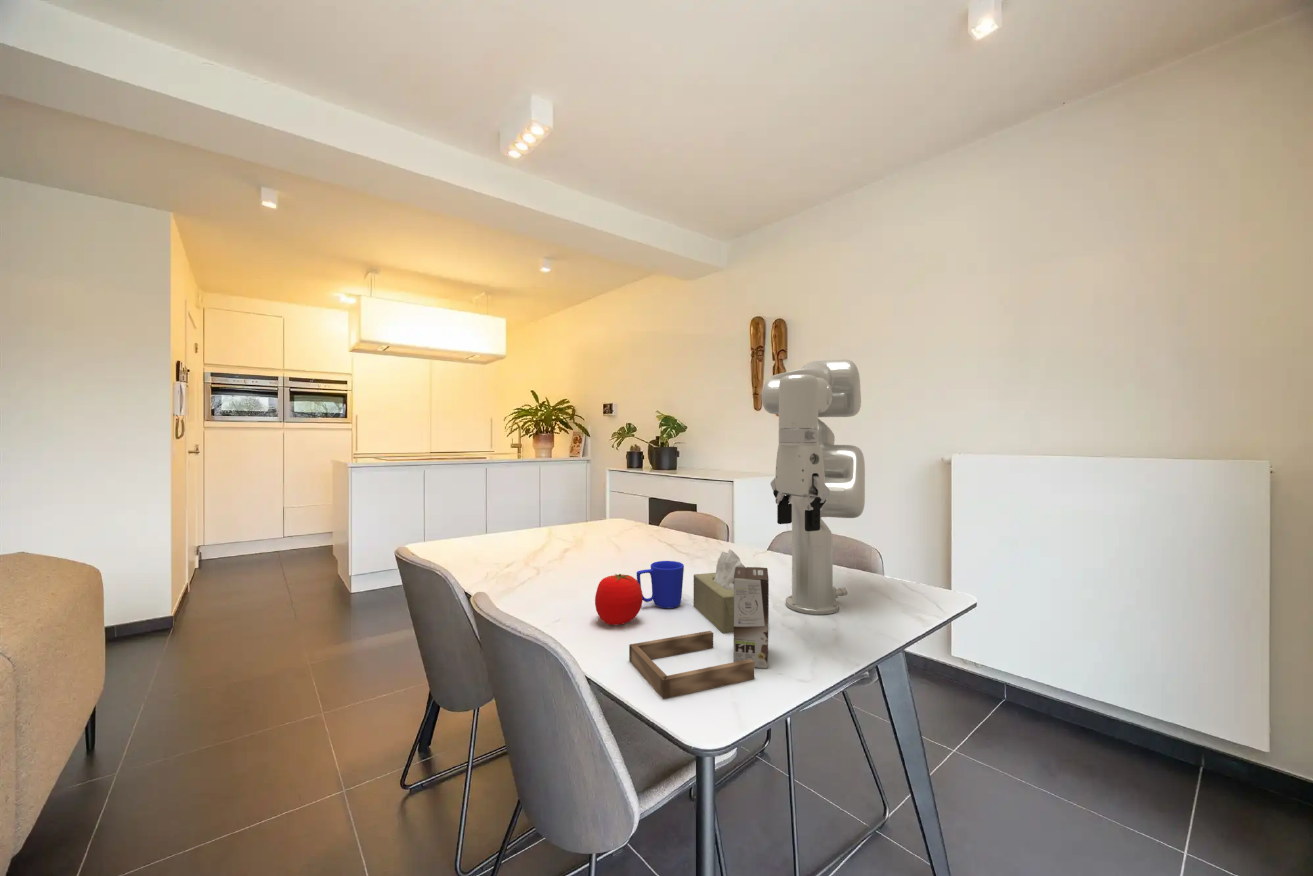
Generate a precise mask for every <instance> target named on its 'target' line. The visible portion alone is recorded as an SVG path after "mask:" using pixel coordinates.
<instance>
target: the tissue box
mask: <svg viewBox="0 0 1313 876" xmlns="http://www.w3.org/2000/svg"><path fill="white" fill-rule="evenodd" d="M715 567H716V569H715V572H708V573H707V572H706V573H695V574H693V608H695V610H697V612H699V613H700V614H701V615H702V616H703V617H704V618H705V619H706V620H708V621H709V623H711V624H712V625H713V626H714V627H715V628H716V629H717V630H718V631H720V633H722V634H732V633H733V634H734V574H735V568H736V567H746V566H745V565H744V564H743V563H742V561H741V558H739V556H738V554H736V553H735V551H733V550H732V549H731V548H729V549H728V551H727V552H726V551H722V552H720V555H719V557H718V559H717V564H716V566H715Z"/></svg>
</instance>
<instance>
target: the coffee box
mask: <svg viewBox="0 0 1313 876" xmlns="http://www.w3.org/2000/svg"><path fill="white" fill-rule="evenodd" d="M769 578H770V577H769V571H768V568H767V567H760V566H759V567H756V566H745V567H736V568H735V574H734V633H733V657H732V658H733V662H737V661H742V660H747V659H751V660H753V661H754V668H758V669H767V668H768V661H769V660H768V659H769V658H768V657H769V626H770V625H769V619H770V618H769V614H770V613H769V603H770V601H769V600H770V599H769V597H770V595H769V592H770V591H769V589H770V588H769V584H770V583H769V582H770V581H769Z"/></svg>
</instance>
